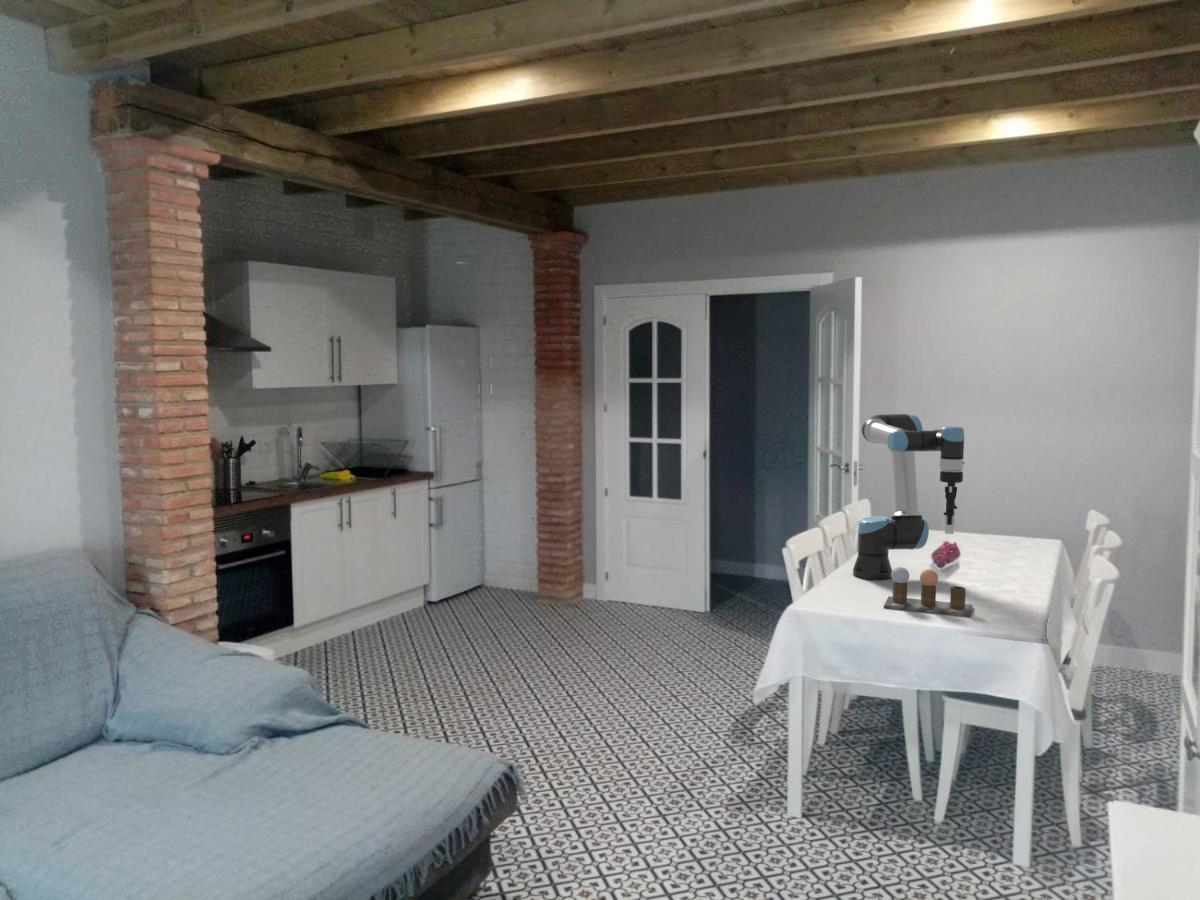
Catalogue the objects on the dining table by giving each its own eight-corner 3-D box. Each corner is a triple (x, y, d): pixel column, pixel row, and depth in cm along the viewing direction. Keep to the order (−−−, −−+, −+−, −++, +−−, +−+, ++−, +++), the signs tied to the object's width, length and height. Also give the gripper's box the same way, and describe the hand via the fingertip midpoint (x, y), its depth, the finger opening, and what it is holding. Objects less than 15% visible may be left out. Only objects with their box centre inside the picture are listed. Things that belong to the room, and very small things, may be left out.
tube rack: (883, 608, 318) (884, 585, 317) (888, 598, 330) (889, 577, 329) (970, 617, 306) (971, 593, 306) (972, 607, 318) (973, 584, 317)
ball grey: (890, 585, 320) (890, 568, 319) (892, 581, 325) (892, 564, 325) (908, 586, 317) (908, 569, 317) (910, 582, 323) (910, 566, 322)
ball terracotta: (918, 587, 316) (919, 570, 315) (920, 583, 321) (921, 566, 321) (937, 589, 313) (937, 572, 313) (938, 585, 319) (939, 568, 318)
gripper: (962, 475, 308) (960, 537, 310) (963, 467, 331) (961, 525, 333) (938, 474, 311) (936, 535, 313) (941, 466, 334) (939, 523, 336)
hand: (949, 530), depth 323 cm, fingers open, 13 cm apart
